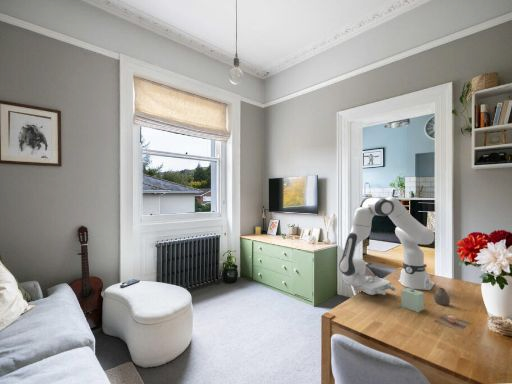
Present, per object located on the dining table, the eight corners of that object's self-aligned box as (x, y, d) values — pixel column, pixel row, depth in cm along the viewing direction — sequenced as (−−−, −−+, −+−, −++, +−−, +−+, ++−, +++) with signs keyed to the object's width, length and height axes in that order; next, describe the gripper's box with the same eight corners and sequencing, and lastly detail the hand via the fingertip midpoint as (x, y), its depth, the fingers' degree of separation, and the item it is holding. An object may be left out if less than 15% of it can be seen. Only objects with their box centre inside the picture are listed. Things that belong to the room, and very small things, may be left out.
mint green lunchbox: (407, 304, 134) (407, 285, 134) (423, 310, 127) (423, 290, 127) (401, 307, 131) (401, 287, 131) (418, 313, 124) (418, 292, 124)
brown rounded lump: (452, 308, 130) (452, 291, 130) (437, 307, 132) (437, 290, 132) (445, 302, 137) (445, 286, 137) (431, 301, 138) (431, 285, 138)
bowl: (449, 319, 117) (449, 314, 117) (458, 322, 114) (458, 317, 114) (446, 321, 115) (446, 316, 115) (455, 324, 112) (455, 319, 112)
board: (444, 316, 122) (444, 314, 122) (470, 325, 114) (470, 323, 114) (433, 323, 116) (433, 320, 116) (460, 333, 107) (460, 331, 107)
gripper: (356, 281, 144) (379, 289, 133) (377, 275, 156) (399, 282, 144) (356, 292, 144) (379, 301, 133) (377, 285, 156) (399, 292, 144)
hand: (390, 291), depth 138 cm, fingers open, 8 cm apart
